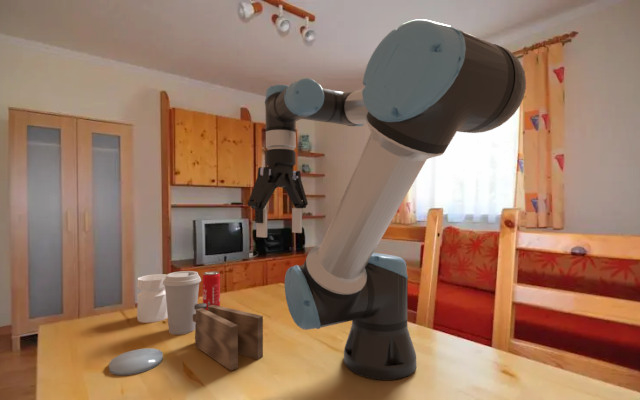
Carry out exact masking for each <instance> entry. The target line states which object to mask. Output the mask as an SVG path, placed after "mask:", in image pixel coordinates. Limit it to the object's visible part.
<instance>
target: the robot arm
mask: <svg viewBox="0 0 640 400" xmlns="http://www.w3.org/2000/svg"><path fill="white" fill-rule="evenodd" d="M365 67H366V68H365V69H364V74H363V79H362V84H363V85H364V88H363V89H359V90H355V91H354V90H353V91H349V92H348V91H340V90H339V91H337V90H333V89H328V88H325V87H324V88H323V87H322V86H321V84H320V83H318V82H317V81H315V80H314V79H312V78H308V77H307V78H300V79H299V80H297V81H295V82H292V83H291V84H290V85H287V84H274V85H271V86H269V87H268V88H266V92H265V100H264V107H265V148H266V149H267V150H266V151H265V165H266V166H259V167H258V169H257V177H256V180H255V183H254V185H253V187H252V191H251V193H250V197H249V199H248V202H247V205H248V207H250V208H251V209H252V210H254V222H255V224H256V227H255V229H256V232H255V233H256V238H268V209H267V208H265V207H266V206H267V204H268V202H269V201H270V200H271V197H272V195H273V194H274V193H275V190H276V189H278V188H283V189H284V191H286V193H287V195H288V197H289V199H290V201H291V203H292V205H293V207H292V208H291V211H292V212H291V233H294V234H296V233H297V234H302V233H303V209H306V208H307V206H308V204H309V203H308V199H307V196H306V192H305V189H304V188H305V187H304V186H303V182H302V176H301V174H302V173H301V171H300V170H293V167H294V166H296V161H297V158H296V155H297V152H296V151H295V149H296V148H297V147H296V146H297V141H296V140H297V138H296V135H297V134H296V132H297V131H296V130H297V129H296V127H297V126H296V125H297V123H296V122H297V121H300V120H307V121H313V122H314V121H315V122H321V123H322V122H323V123H330V124H331V123H332V124H337V125H341V126H348V127H362V126H363V127H364V125H367V126H368V130H369V132H370V134H369V136H368V139H367V140H366V141H367V142H366V144H365V146H364V148H363V151H362V153H361V154H360V157H359V159H358V162H357V163H356V166H355V168H354V170H353V173H352V174H351V177H350V180H349V182H348V184H347V186H346V188H345V191H344V193H343V195H342V197H341V199H340V202H339V204H338V207H337V209H336V211H335V213H334V215H333V217H332V220H331V222H330V223H329V224H330V225H329V226H328V229H327V231H326V233H325V235H324V237H323V240H322V243H321V244H319V245H316V246H315V247H313V248H311V249H310V250H309V251H308V253H307V255H306V257H305V260H304V263H303V264H301V265H298V264H295V265H293V266H290V267H289V268H288V269H287V270H286V272H285V276H284V293H285V294H284V295H285V300H286V304H287V308H288V312H289V314H290V316H291V318H292V321H293V322H294V323H295V325H296V326H297V327H299V328H300V329H302V330H305V331H307V330H314V329H317V330H319V329H322V328H326V327H329V326H334V325H337V324H342V323H347V322H351V327H350V330H349V333H348V336H347V339H346V342H345V345H344V349H343V363H344V365H345V367H346V368H347V369H348V370H350V371H351V372H353V373H355V374H357V375H359V376H361V377H364V378H368V379H372V380H380V381H392V380H393V381H394V380H399V379H403V378H406V377H408V376H410V375H412V374H413V373H414V372H416V369H417V353H416V350H415V346H414V343H413V341H412V337H411V335H410V331H409V329H408V290H409V289H408V287H409V286H408V280H409V276H408V268H407V262H406V260H405V259H404V258H402V257H400V256H397V255H393V254H386V253H379V252H375V250H376V248H378V246H379V243H380V242H381V240H382V238H383V236H384V235H385V233H386V231H387V229H388V228H389V226H390V224H391V223H392V220H393V219H394V217H395V215H397V212H398V211H399V209H400V207H401V205H402V203H403V202H404V200H405V198H406V196H407V194H408V193H409V191H410V189H411V188H412V186H413V184H414V182H415V181H416V179H417V177H418V175H419V174H420V172H421V170H422V168H423V167H424V165H425V163H426V161H427V160H428V159H432V158H435V157H439V156H442V155H443V154H444V153H445V152H446V150H447V148H448V147H449V146H450V143H451V142H452V140H453V138H454V137H455V135H456V133H457V132H459V133H467V134H468V133H469V134H470V133H471V134H479V133H485V132H489V131H492V130H494V129H496V128H498V127H501V126H502V125H504V124H505V123H506V122H507V121H509V120H510V119H511V118H512V117H513V116H514V115H515V113H516V112H517V110H518V109H519V108H520V106H521V105H522V102H523V100H524V97H525V93H526V88H527V79H526V72H525V70H524V68H523V65H522V64H521V61H520V60H519V58H518V57H517V55H515V54H514V53H513V52H511V51H510V50H509V49H507V48H505V47H503V46H501V45H498V44H496V43H492V42H489V41H487V40H484V39H482V38H481V37H478V36H475V35H472V34H470V33H468V32H464V31H462V30H460V29H457V28H456V27H454V26H453V25H451V24H444V23H442V22H437V21H432V20H428V19H421V18H420V19H413V20H409V21H407V22H404V23H401V25H399V26H398V27H397V28H396V29H395V28H394V29H393V30H391V31H390V32H389V33H388V34H387V35H386V36H384V37H383V38H382V40H381V41H380V42H379V43H378V45H377V46H376V48H375V49H374V50H373V53H372V54H371V56H370V58H369V60H368V62H367V64H366V66H365Z"/></svg>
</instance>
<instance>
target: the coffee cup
mask: <svg viewBox="0 0 640 400" xmlns="http://www.w3.org/2000/svg"><path fill="white" fill-rule="evenodd" d="M201 281H202V278H201V276H200V275H199V272H198V271H193V270H185V271H184V270H182V271H174V272H170V273H167V275H166V278H165V279H164V281H163V285H165V293H166V303H167V314H168V318H167V323H168V333H169V334H171V335H176V336H178V335H179V336H180V335H186V334H190V333H192V332H195V324H196V323H195V322H194V321H193V314H196V310H195V309H194V305H196V304H198V303H199V302H198V301H199V300H198V299H199V290H200V289H199V288H200V283H201Z"/></svg>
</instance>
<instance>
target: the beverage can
mask: <svg viewBox="0 0 640 400" xmlns="http://www.w3.org/2000/svg"><path fill="white" fill-rule="evenodd" d="M202 303H206V304H207V308H206V309H205V310H208V306H211V305H216V306H221V273H220V271H216V270H214V271H213V270H212V271H206V272H203V275H202Z"/></svg>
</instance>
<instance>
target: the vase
mask: <svg viewBox="0 0 640 400" xmlns="http://www.w3.org/2000/svg"><path fill="white" fill-rule="evenodd" d="M167 274H168V273H167ZM167 274H163V273H156V274H155V273H154V274H147V275H146V274H145V275H143V276H139V277H137V285H136V286H137V287H136V288H137V289H139V290H140V292H139V293H137V294H136V297H137V298H136V299H137V308H136V318H137V321H138V322H140V323H143V324H144V323H147V324H149V323H156V322H160V321H164V320H166V319H168V314H167V303H166V293H165V285H163V281H164V279H165V278H166V275H167Z"/></svg>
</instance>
